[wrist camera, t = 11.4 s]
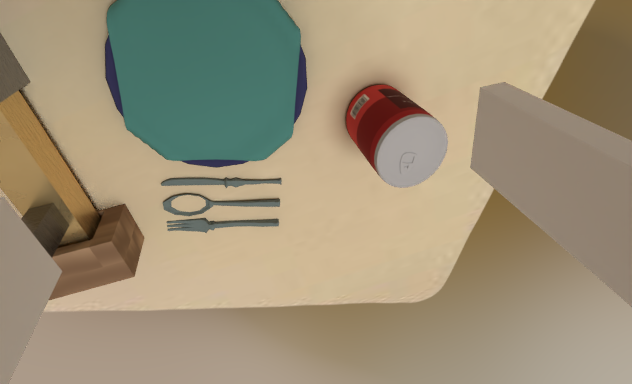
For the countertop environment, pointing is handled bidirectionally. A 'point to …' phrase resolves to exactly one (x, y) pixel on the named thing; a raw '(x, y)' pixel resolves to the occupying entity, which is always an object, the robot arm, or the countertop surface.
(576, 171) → the robot arm
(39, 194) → the gray and tan bar
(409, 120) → the canned food
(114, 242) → the socket block
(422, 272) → the countertop surface
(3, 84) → the sleeve
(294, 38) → the cutlery set
